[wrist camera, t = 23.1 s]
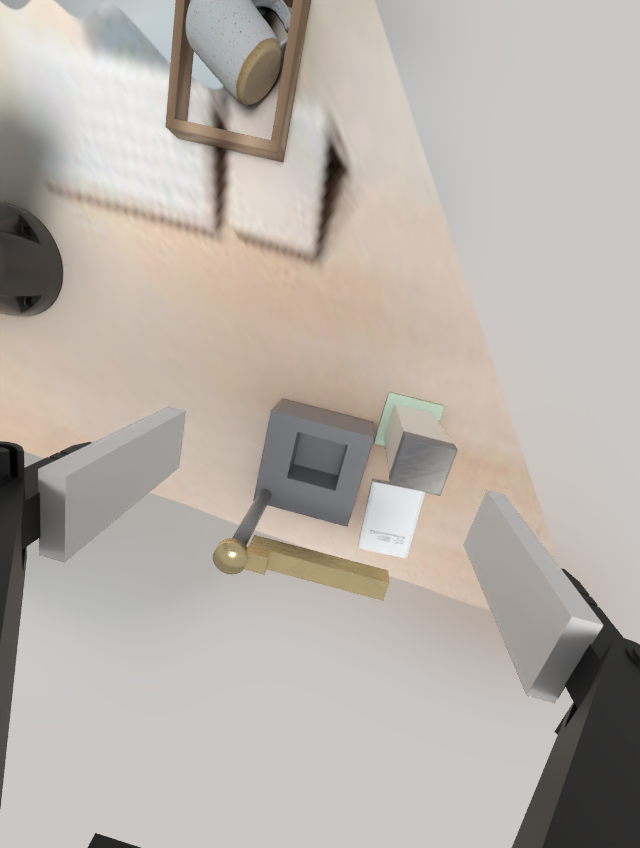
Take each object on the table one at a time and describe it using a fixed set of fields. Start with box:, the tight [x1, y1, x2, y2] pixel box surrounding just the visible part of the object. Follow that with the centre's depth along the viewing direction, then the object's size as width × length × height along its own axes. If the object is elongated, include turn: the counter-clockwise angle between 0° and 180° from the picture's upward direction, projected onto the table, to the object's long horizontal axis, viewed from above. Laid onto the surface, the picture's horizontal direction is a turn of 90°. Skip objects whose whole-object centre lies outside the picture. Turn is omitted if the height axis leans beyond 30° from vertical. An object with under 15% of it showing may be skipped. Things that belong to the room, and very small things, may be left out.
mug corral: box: [166, 0, 311, 162], centre depth 43 cm, size 14×16×3 cm
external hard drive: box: [358, 479, 425, 558], centre depth 59 cm, size 2×8×12 cm
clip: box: [213, 535, 389, 601], centre depth 40 cm, size 19×4×4 cm, turn 77°
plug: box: [384, 403, 457, 496], centre depth 46 cm, size 6×6×15 cm
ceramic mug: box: [186, 0, 291, 105], centre depth 40 cm, size 11×8×8 cm
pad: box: [374, 392, 444, 446], centre depth 54 cm, size 8×8×1 cm
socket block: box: [232, 399, 374, 545], centre depth 48 cm, size 14×14×20 cm
